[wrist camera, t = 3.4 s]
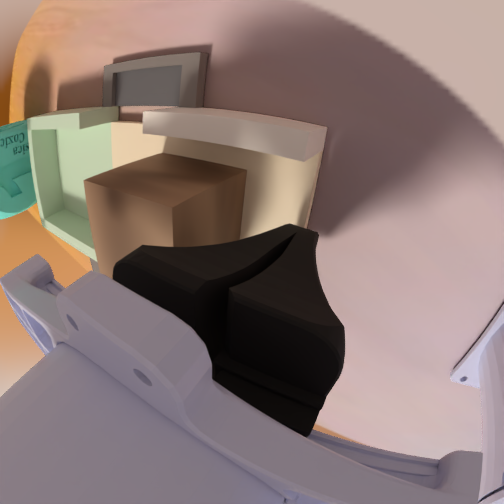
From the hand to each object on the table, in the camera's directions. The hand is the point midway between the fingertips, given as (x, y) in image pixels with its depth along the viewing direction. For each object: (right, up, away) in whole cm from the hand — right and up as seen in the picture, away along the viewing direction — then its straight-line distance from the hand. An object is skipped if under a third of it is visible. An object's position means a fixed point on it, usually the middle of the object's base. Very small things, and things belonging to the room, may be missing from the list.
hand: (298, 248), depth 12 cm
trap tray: (-9, +4, +4) cm, 11 cm away
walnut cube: (-5, +2, +2) cm, 6 cm away
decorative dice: (-24, +10, +10) cm, 28 cm away
